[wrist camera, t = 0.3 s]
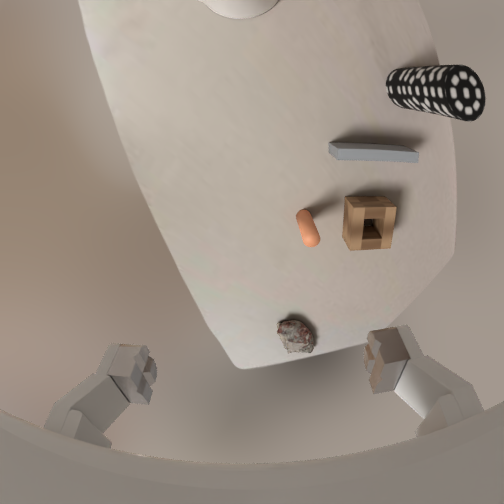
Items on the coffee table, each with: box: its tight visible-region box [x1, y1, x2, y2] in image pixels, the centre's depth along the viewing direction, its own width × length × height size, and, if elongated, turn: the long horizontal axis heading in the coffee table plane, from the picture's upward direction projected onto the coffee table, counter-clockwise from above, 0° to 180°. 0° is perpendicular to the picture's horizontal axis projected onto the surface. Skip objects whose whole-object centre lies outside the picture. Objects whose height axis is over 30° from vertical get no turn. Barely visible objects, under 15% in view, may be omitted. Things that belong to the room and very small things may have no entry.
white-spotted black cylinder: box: [386, 65, 485, 121], centre depth 35 cm, size 8×8×20 cm
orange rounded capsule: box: [296, 210, 320, 247], centre depth 54 cm, size 3×3×10 cm
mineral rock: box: [277, 320, 314, 353], centre depth 73 cm, size 15×8×4 cm, turn 21°
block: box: [342, 196, 397, 251], centre depth 55 cm, size 9×9×6 cm
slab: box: [329, 143, 419, 163], centre depth 48 cm, size 2×16×6 cm, turn 94°
